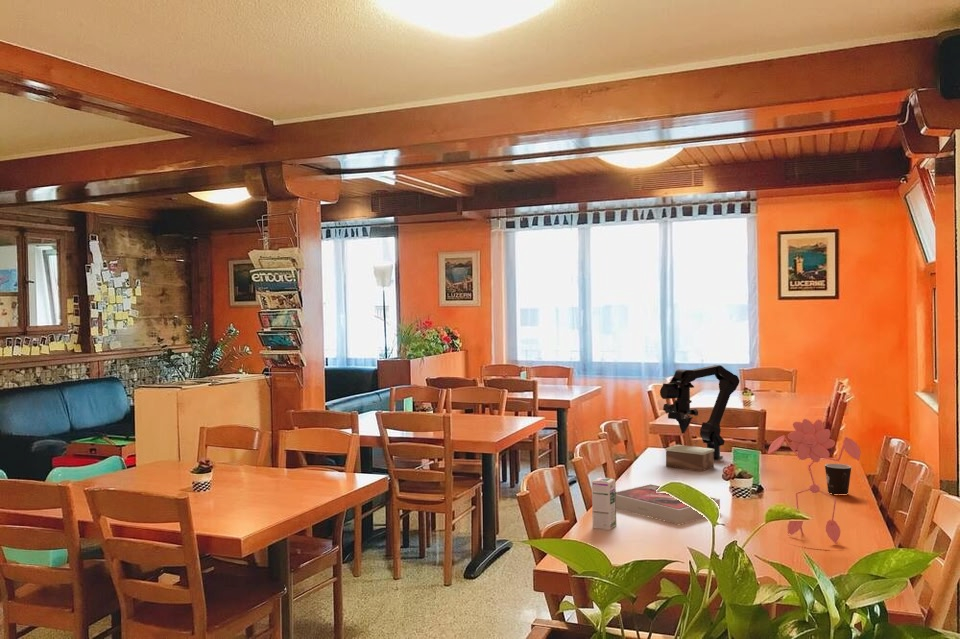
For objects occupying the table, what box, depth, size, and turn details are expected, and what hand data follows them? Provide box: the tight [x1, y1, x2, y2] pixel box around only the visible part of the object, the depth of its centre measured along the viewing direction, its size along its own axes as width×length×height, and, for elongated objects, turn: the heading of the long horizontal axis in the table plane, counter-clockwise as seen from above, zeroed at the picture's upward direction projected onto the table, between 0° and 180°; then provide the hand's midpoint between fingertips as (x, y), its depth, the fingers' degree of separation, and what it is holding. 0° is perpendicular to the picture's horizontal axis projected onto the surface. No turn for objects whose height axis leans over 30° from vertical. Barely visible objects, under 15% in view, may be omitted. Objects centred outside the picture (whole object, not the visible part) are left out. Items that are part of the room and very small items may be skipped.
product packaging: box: [616, 483, 721, 525], centre depth 250 cm, size 22×28×5 cm
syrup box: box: [591, 477, 617, 531], centre depth 230 cm, size 6×6×14 cm
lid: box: [664, 444, 714, 455], centre depth 320 cm, size 12×17×1 cm
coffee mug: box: [824, 463, 852, 494], centre depth 269 cm, size 12×9×10 cm
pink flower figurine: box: [767, 418, 861, 552], centre depth 214 cm, size 15×26×35 cm, turn 49°
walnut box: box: [665, 451, 715, 472], centre depth 320 cm, size 12×16×6 cm
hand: (683, 433), depth 333 cm, fingers closed
